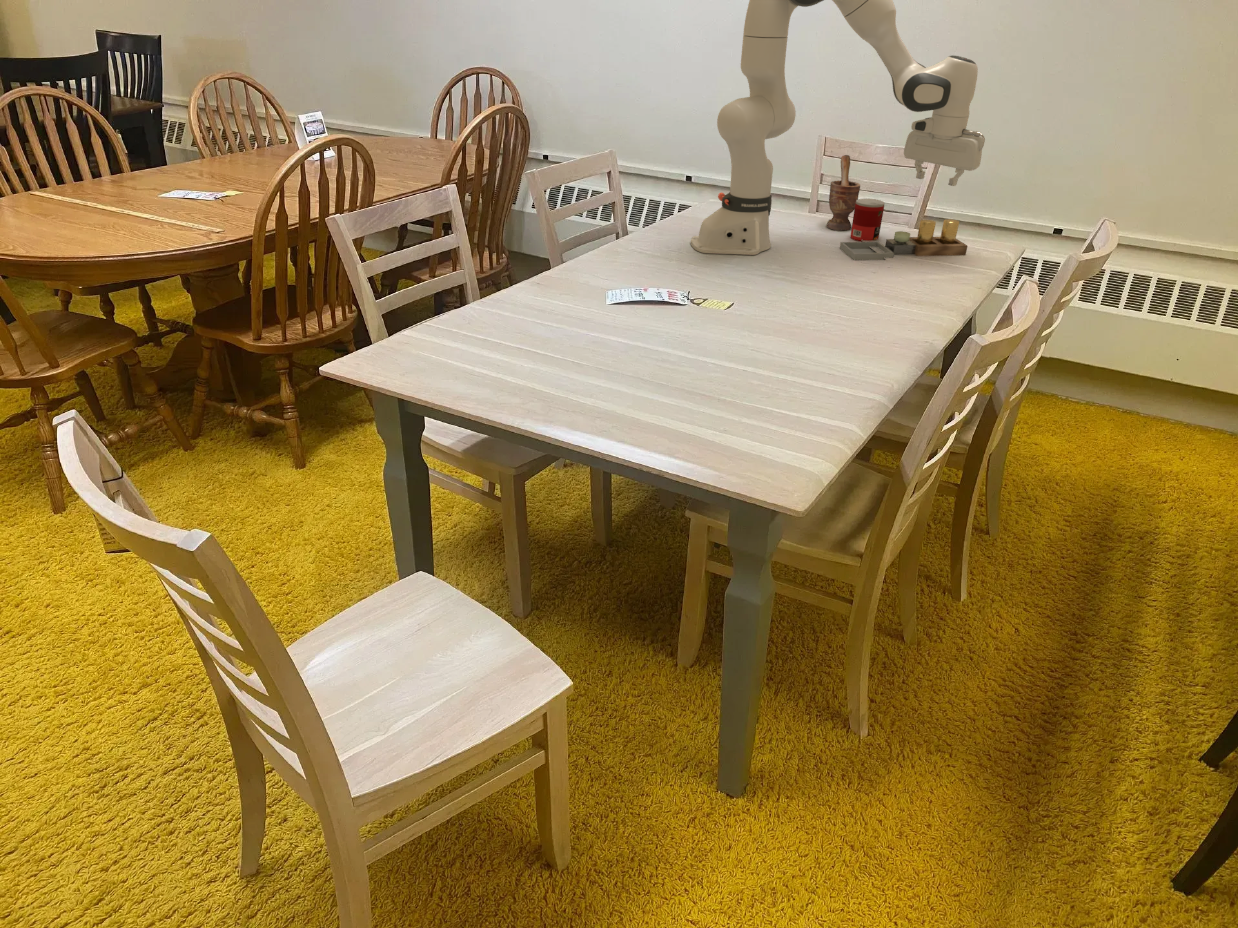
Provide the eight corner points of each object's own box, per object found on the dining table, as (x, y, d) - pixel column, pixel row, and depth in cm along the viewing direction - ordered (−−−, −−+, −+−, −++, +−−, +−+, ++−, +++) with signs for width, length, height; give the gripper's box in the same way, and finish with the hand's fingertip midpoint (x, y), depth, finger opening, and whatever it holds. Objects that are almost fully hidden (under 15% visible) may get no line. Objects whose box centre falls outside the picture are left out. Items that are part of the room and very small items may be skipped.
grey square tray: (853, 262, 223) (854, 254, 222) (839, 250, 233) (840, 242, 232) (892, 261, 224) (894, 253, 223) (877, 249, 234) (878, 241, 233)
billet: (919, 253, 228) (925, 223, 224) (912, 249, 231) (917, 220, 227) (932, 252, 228) (938, 223, 224) (925, 248, 232) (931, 219, 228)
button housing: (892, 258, 227) (894, 245, 225) (884, 251, 232) (886, 239, 230) (913, 257, 227) (916, 245, 226) (904, 251, 232) (907, 239, 231)
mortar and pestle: (815, 222, 258) (824, 154, 247) (840, 220, 260) (850, 153, 249) (832, 232, 248) (842, 162, 238) (858, 230, 250) (869, 161, 240)
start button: (895, 253, 227) (898, 235, 225) (889, 248, 230) (892, 231, 228) (909, 252, 227) (912, 235, 225) (903, 248, 231) (906, 231, 228)
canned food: (878, 245, 238) (885, 205, 232) (850, 243, 239) (856, 204, 233) (877, 237, 244) (883, 199, 238) (849, 235, 245) (855, 197, 240)
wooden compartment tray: (915, 259, 226) (918, 246, 224) (902, 249, 234) (904, 237, 232) (964, 258, 227) (967, 245, 226) (949, 248, 235) (952, 236, 233)
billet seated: (941, 252, 228) (947, 223, 224) (935, 248, 232) (941, 219, 228) (955, 252, 229) (962, 223, 225) (948, 248, 232) (955, 219, 228)
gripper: (992, 131, 209) (978, 188, 216) (919, 119, 221) (908, 173, 228) (980, 134, 205) (966, 191, 212) (906, 122, 217) (895, 176, 225)
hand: (935, 182), depth 220 cm, fingers open, 8 cm apart
